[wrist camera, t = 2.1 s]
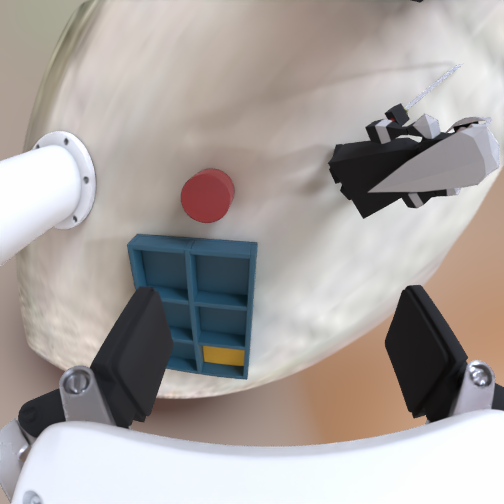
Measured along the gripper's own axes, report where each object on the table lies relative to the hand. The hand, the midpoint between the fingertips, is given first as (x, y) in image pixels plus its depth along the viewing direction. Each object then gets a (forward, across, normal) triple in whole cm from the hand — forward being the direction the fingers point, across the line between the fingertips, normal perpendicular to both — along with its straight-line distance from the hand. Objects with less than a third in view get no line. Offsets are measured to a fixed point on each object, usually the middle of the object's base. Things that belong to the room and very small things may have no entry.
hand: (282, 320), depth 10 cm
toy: (+18, -15, -8) cm, 25 cm away
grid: (+18, +9, +15) cm, 26 cm away
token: (+18, +6, 0) cm, 19 cm away
